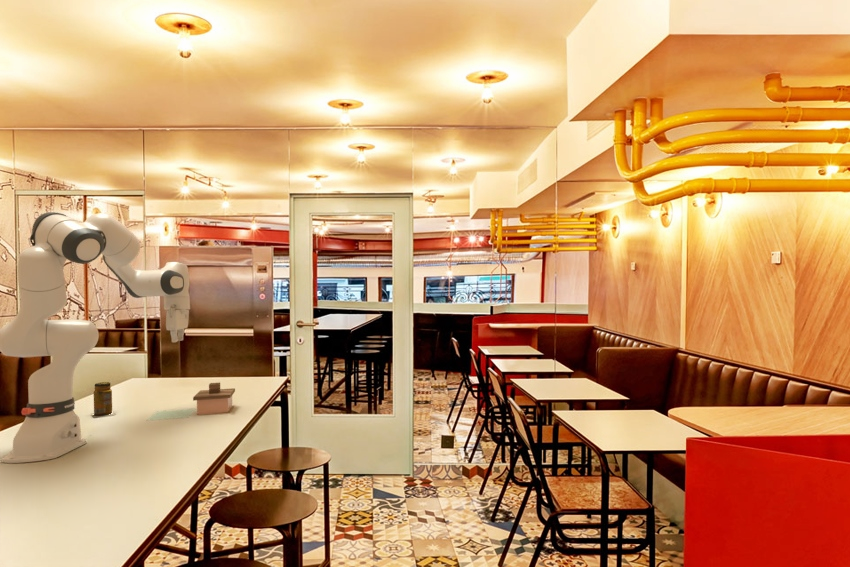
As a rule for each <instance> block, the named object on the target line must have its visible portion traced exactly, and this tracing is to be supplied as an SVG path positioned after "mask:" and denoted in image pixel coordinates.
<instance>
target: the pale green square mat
mask: <svg viewBox="0 0 850 567" xmlns="http://www.w3.org/2000/svg"><path fill="white" fill-rule="evenodd" d="M195 410H196V408H187V409H186V408H185V409H173V410H159V411H156V412H155V413H153V414H152V415H151V416H150V417H149V418H148V419H146V421H148V422H149V421H161V420H172V419H173V420H175V419H187V418H189V417H190V416H191V415H192V414H193V412H195Z"/></svg>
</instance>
